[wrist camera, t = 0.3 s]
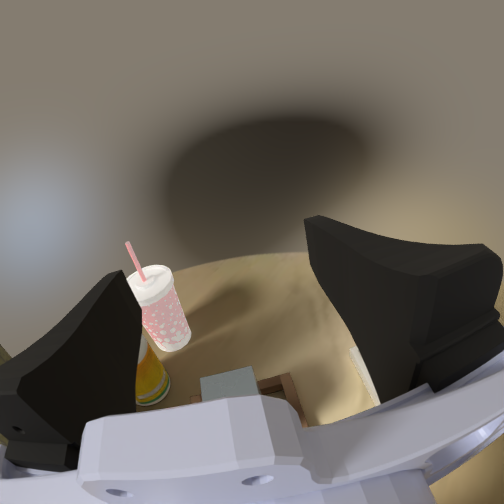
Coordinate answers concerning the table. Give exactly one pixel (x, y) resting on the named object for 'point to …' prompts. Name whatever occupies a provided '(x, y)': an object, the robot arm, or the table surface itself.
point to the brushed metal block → (229, 384)
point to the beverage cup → (159, 305)
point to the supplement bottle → (150, 377)
